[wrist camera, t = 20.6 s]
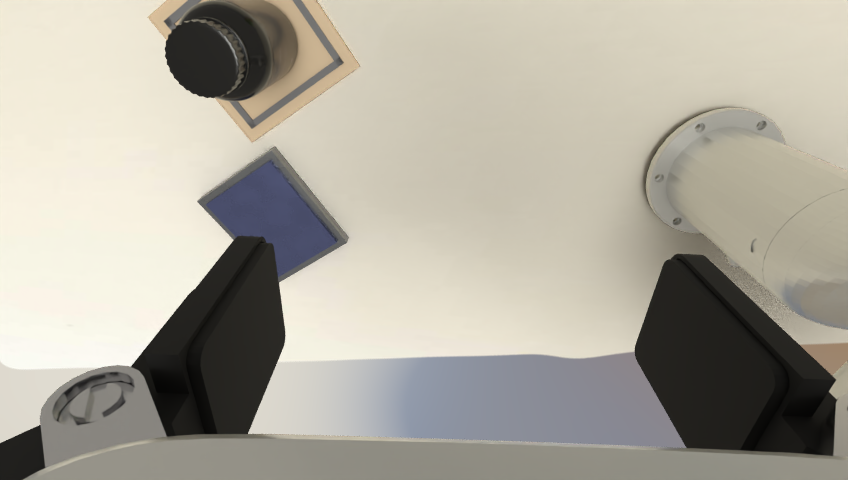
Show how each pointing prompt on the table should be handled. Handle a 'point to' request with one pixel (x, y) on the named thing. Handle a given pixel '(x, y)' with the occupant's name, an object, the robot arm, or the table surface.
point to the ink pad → (275, 212)
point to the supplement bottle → (231, 48)
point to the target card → (309, 77)
